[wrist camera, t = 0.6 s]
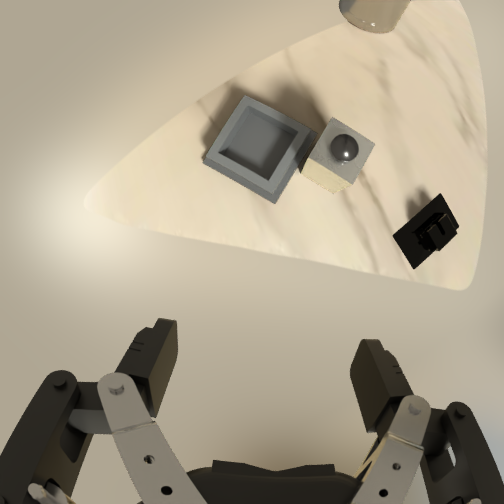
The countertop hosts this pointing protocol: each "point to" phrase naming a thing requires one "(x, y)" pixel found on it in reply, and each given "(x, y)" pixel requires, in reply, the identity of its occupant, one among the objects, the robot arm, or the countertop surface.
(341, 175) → the knobbed grey block
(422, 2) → the countertop surface
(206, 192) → the countertop surface
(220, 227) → the countertop surface
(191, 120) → the countertop surface
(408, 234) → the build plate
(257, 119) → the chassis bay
